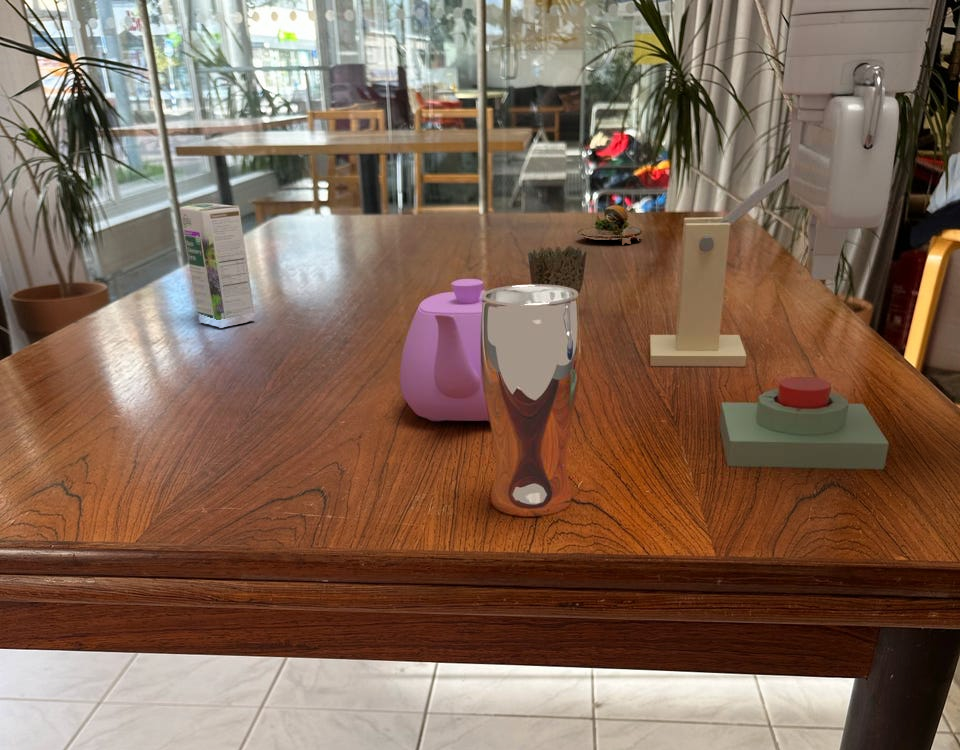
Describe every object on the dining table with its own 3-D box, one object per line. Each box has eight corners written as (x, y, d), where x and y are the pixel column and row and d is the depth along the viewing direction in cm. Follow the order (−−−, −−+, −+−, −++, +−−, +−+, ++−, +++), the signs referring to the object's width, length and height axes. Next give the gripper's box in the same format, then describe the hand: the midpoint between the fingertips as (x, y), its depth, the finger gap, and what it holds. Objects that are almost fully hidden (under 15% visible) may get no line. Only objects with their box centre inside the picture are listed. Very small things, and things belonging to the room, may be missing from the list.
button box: (859, 428, 82) (867, 382, 80) (884, 470, 74) (893, 420, 72) (718, 426, 84) (723, 381, 82) (727, 467, 76) (732, 418, 73)
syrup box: (197, 324, 127) (175, 206, 119) (235, 315, 130) (216, 201, 123) (220, 330, 123) (199, 209, 116) (258, 321, 127) (240, 203, 119)
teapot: (425, 381, 99) (417, 263, 93) (550, 383, 97) (551, 262, 91) (375, 447, 83) (361, 307, 76) (526, 450, 80) (524, 308, 74)
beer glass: (500, 525, 67) (494, 308, 60) (474, 490, 73) (466, 288, 65) (591, 512, 69) (597, 298, 61) (559, 479, 75) (561, 280, 67)
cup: (520, 312, 126) (519, 248, 122) (572, 306, 128) (573, 243, 123) (540, 323, 120) (540, 256, 116) (593, 318, 121) (595, 251, 117)
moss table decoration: (570, 238, 178) (570, 195, 174) (630, 234, 179) (632, 191, 175) (587, 248, 168) (588, 202, 164) (651, 244, 169) (653, 198, 165)
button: (823, 397, 78) (827, 376, 78) (831, 412, 75) (835, 390, 74) (774, 397, 79) (776, 376, 78) (780, 411, 76) (782, 390, 75)
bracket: (738, 345, 107) (752, 213, 100) (745, 366, 100) (761, 226, 93) (649, 345, 109) (657, 215, 102) (649, 366, 101) (658, 227, 94)
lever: (835, 143, 94) (822, 123, 93) (844, 147, 90) (830, 125, 89) (699, 253, 101) (686, 235, 100) (701, 262, 97) (688, 243, 96)
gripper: (940, 62, 55) (893, 305, 63) (869, 62, 73) (840, 253, 80) (828, 66, 56) (795, 306, 64) (785, 65, 74) (763, 253, 81)
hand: (820, 276), depth 72 cm, fingers closed
